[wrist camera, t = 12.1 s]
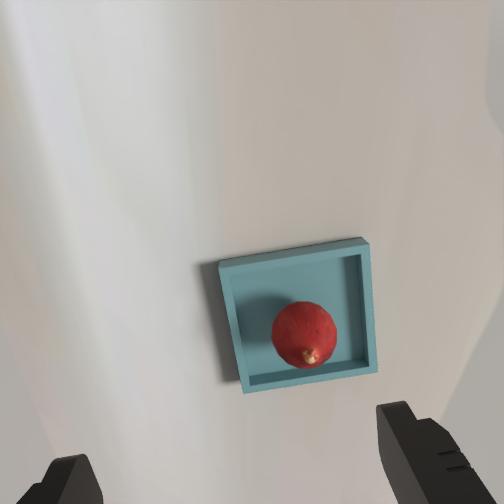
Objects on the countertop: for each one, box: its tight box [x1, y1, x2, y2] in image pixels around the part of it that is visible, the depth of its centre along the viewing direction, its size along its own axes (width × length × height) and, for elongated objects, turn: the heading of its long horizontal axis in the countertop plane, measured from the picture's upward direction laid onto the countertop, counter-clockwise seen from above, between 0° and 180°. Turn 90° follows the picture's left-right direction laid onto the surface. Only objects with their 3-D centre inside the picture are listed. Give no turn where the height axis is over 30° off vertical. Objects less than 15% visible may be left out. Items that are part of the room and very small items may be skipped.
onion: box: [271, 301, 337, 369], centre depth 36 cm, size 6×6×8 cm
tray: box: [218, 237, 378, 394], centre depth 39 cm, size 14×14×2 cm
